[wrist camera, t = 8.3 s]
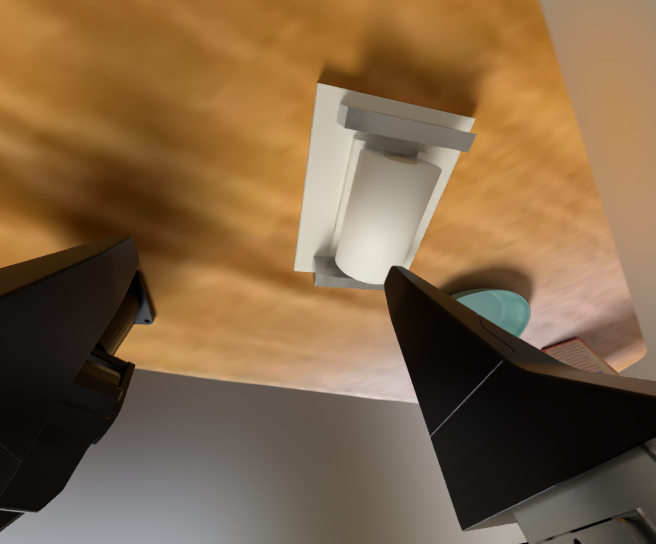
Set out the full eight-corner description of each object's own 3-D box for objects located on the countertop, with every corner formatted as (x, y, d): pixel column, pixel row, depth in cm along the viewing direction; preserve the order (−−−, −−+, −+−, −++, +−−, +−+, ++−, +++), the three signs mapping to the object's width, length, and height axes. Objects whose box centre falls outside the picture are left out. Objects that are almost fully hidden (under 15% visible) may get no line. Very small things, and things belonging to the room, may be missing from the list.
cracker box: (536, 349, 39) (724, 552, 22) (578, 335, 37) (810, 536, 21) (533, 388, 47) (668, 558, 30) (567, 377, 46) (728, 547, 29)
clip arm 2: (444, 143, 18) (467, 152, 16) (336, 121, 17) (344, 128, 14) (450, 127, 18) (476, 134, 15) (339, 103, 16) (348, 107, 14)
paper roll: (385, 250, 23) (408, 286, 19) (330, 246, 22) (341, 283, 18) (419, 155, 19) (459, 175, 14) (352, 142, 17) (374, 161, 13)
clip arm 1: (393, 271, 25) (404, 291, 22) (311, 264, 23) (314, 285, 21) (396, 262, 24) (408, 282, 22) (313, 255, 22) (316, 276, 20)
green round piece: (516, 330, 35) (531, 346, 33) (416, 368, 38) (423, 385, 36) (513, 254, 27) (532, 268, 25) (384, 310, 30) (392, 327, 28)
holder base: (400, 273, 26) (407, 283, 25) (294, 264, 24) (294, 276, 23) (467, 117, 18) (482, 120, 17) (316, 83, 16) (319, 82, 15)
